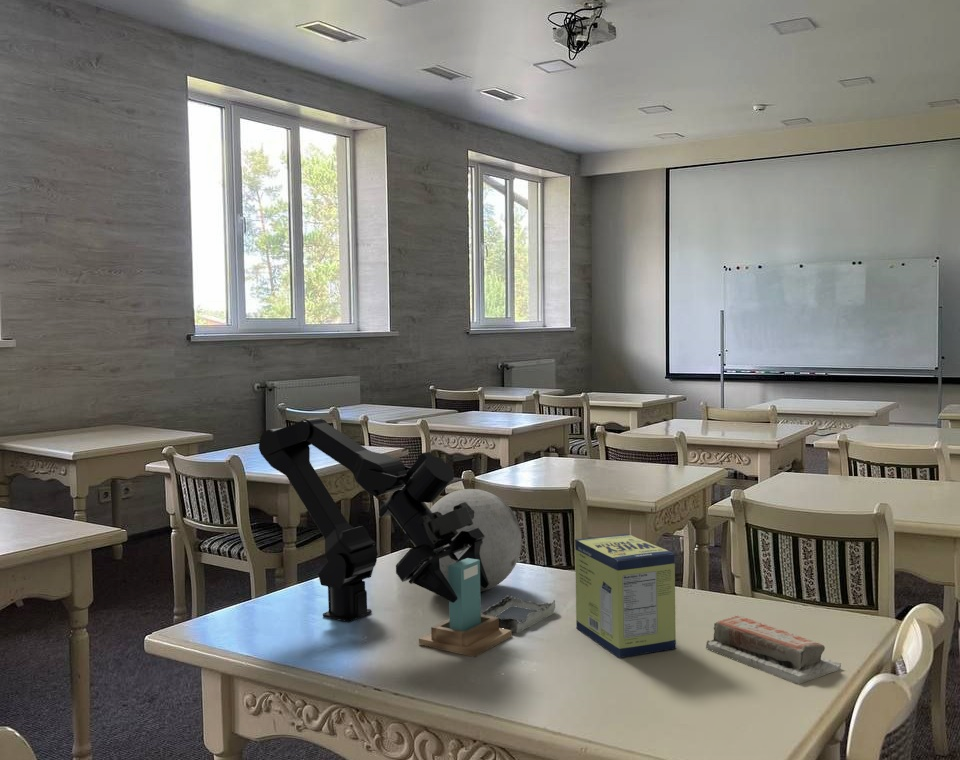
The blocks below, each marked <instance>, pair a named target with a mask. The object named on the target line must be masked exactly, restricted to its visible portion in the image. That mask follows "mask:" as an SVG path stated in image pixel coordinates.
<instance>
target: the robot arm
mask: <svg viewBox="0 0 960 760" xmlns="http://www.w3.org/2000/svg"><path fill="white" fill-rule="evenodd" d="M259 439H260V440H259V443H258V449H259V452H260V455H261V456H262V457H263V458H264V460H265V461H266V462H267V463H268V465H269V466H271V468H273V469H275V470H276V471H278V472H280V473H281V474H282V475H284V476H285V477H286V478H287V479H288V481H289V483H290V484H291V486H292V488H293V489H294V491H295V492H296V495H298V497H299V499H300V500H301V503H302V504H303V506H304V507H305V509H306V511H307V512H308V513H309V515H310V516H311V519H312V520H313V522H314V523H315V525H316V527H317V529H318V530H319V532H320V533H321V534H322V536H323V539H324V556H325V558H326V560H327V562H326V564H325V565H324V567H322V569H321V570H320V571H318V579H319V583H320V586H322V587H327V595H328V596H327V597H328V598H327V599H328V603H327V604H328V611H325V612H323V613H322V617H323V618H329V619H334V620H338V621H341V622H342V621H343V622H347V623H349V622H352V621H354V620H358V619H360V618H362V617H365V616H366V615H368V614H372V611H373V610H372V609H370V608H368V596H367V595H368V594H367V593H368V591H367V590H366V579H370V578H371V577H372V575H373V573H374V568H375V567H376V565H377V559H378V557H377V556H379V553H378V550H377V548H376V546H375V545H376V544H377V543H376V541H375V540H373V539H372V538H371V536H370V535H369V532H368V530H367V528H366V527H365V526H364V525H361V526H357V527H354V526H352V525H351V524H350V523H349V522H348V521H347V519H346V518H345V516H344V515H343V513H342V511H341V509H340V508H339V506H338V505H337V504H336V502H335V500H334V499H333V497H332V495H331V494H330V492H329V491H328V489H327V487H326V486H325V484H324V482H323V481H322V479H321V478H320V476H319V474H318V473H317V472H316V471H317V470H315V468H314V467H313V465H312V463H311V461H310V460H311V459H310V458H311V457H310V456H311V453H310V452H311V448H310V446H311V445H312V446H313V447H314V448H316V449H318V450H319V451H320V452H322V453H324V454H325V455H326V456H328V457H330V458H331V459H332V460H334V461H335V462H337V463H338V464H340V465H341V466H343V467H344V468H345V469H347V470H348V471H350V473H352V474H353V477H354V479H355V480H354V481H356V483H357V484H358V485H359V486H360V487H361V488H362V489H363V490H364V491H365V492H366V493H367V494H369V495H370V496H373V497H378V496H383V495H386V494H389V493H391V495H390V496H389V498H387V499H384V500H381V501H380V502H379V504H380V506H379V509H378V510H379V512H378V517H379V518H384V517H386V516H387V517H388V516H389V515H391V516H392V517H393V519H394V520H395V521H396V522H397V524H398V525H399V526H400V528H401V530H402V531H403V532H404V535H403V536H402V540H403V541H404V542H405V543H408V542H411V543H412V544H413V546H414V547H412V548H411V547H410V548H409V550H408V551H407V552H406V553H405V554H404V556H403V557H402V558H401V559H400V560H399V561H398V562H397V563H396V565H395V574H396V575H397V577H398V578H399V580H400V581H401V583H405V582H406V581H408V583H409V584H410V585H411V584H412V585H413V584H414V585H417V586H418V587H421V588H424V589H426V590H427V591H429V592H431V593H432V594H433V593H434V594H436V595H437V596H439V597H441V598H443V599H444V600H447V601H448V602H449V601H450V602H452V603H454V602H455V601H456V600H457V599H458V598H457V596H456V594H455V592H454V590H453V589H452V587H451V586H450V584H449V582H448V581H447V579H446V578H445V576H444V575H443V573H442V572H441V570H440V563H439V559H440V558H443V557H445V556H448V555H449V556H450V558H451V559H453V560H455V561H457V560H458V561H461V560H464V559H466V558H471V559H477V560H480V585H481V586H482V587H483V588H486V587H487V586H488V585H489V582H488V579H487V576H486V573H485V570H484V568H483V565H482V561H481V558H480V547H481V545H482V544H483V539H484V538H485V536H484V534H483V533H482V532H481V531H480V529H479V528H475V527H471V528H468V529H465V530H463V531H461V532H460V533H459V534H458V532H457V531H456V530H458V529H461V528H463V527H465V526H467V525H468V526H470V525H473V521H472V519H473V518H474V510H472V509H471V507H470V506H469V505H468V504H467V503H466V502H464V503H460V504H459V505H456V506H454V508H453V511H451V512H449V513H446V514H444V515H442V514H441V513H440V512H438V511H437V512H434V513H432V511H431V510H430V509H431V508H429V506H428V505H427V503H428V504H429V503H430V504H431V503H433V502H434V501H435V500H437V498H439V496H440V495H441V494H442V493H443V492H444V490H446V488H447V487H448V486H449V485H450V484H451V482H453V480H454V478H455V472H454V470H453V468H452V467H451V465H450V464H449V463H448V462H445V461H444V460H443V459H441V458H440V457H438V456H434V455H433V454H432V453H431V452H430V451H425V452H421V453H420V454H419V455H418V457H417V459H416V461H415V462H414V463H413V465H412V466H409V465H408V466H407V465H405V464H404V463H403V461H401V460H400V459H398V458H395V457H393V456H391V455H389V454H384V453H381V452H375V451H372V450H369V449H367V448H365V446H363V445H362V444H360V443H358V442H356V441H354V440H353V439H351V438H350V437H349V436H347V435H346V434H345V433H344V432H343V433H342V432H341V431H340V430H338V429H337V428H335V427H334V426H332V425H330V424H329V423H328V422H327V420H325V419H324V418H321V417H311V418H305V419H302V420H299V421H298V422H296V423H294V424H291V425H288V426H284V427H280V428H272V429H267V430H265V431H264V432H263V433H261V436H260V438H259ZM457 534H458V535H457ZM456 535H457V536H456ZM455 536H456V538H455V539H454V540H453V541H452V540H451V539H452V538H453V537H455ZM444 550H445V551H444ZM458 561H457V562H458ZM364 580H365V581H364Z"/></svg>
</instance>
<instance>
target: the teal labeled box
mask: <svg viewBox="0 0 960 760" xmlns="http://www.w3.org/2000/svg"><path fill="white" fill-rule="evenodd" d="M448 574H449V584H450V586H451V587H452V589H453V590H454V592H455V594H456V596H457V598H458V599H457V600H456V601H455V602H454V603H452V602H450V601H449V600H448V608H449V609H448V611H449V613H448V614H449V615H448V617H449V618H448V619H449V620H450V629H454V630H459V631H464V632H465V631H467V630H469V629H471V628H473V627H475V626H477V625H479V624H481V612H482V611H481V609H482V607H481V606H482V603H481V600H482V599H481V591H480V560H477V559H471V558H466V559H464V560H461V561H458V562H456V563H453V564H451V565H448Z"/></svg>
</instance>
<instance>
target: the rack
mask: <svg viewBox="0 0 960 760" xmlns="http://www.w3.org/2000/svg"><path fill="white" fill-rule="evenodd" d="M499 618H500V617H497V616H496V617H492V616H486V615H481V624H479V625H477V626H475V627H473V628H471V629H469V630H467V631H465V632H464V631H459V630H454V629H450V620H449V618H447V619H446V620H443V621H442V622H439V623H437V624H435V625H433V626H431V627H430V632H429V633H427V634H425V635H424V636H423V635H422V636H421V637H419V638H418V645H419V644H421V645H420V646H423V645H425V646H424V647H428V646H429V648H432V647H434V648H433V649H438V650H442V651H447V652H451V653H455V654H460V655H465V656H469V657H472V658H473V657H474V658H476V657H478V656H479V655H481V654H483V653H485V652H486V651H488V650H490V649H491V648H493V646H494V647H495V646H497V645H499V644H501V643H502V642H504V641H506V640H508V639H509V638H511V637H512V632H513V631H511V630H507V629H502V628H499ZM500 642H501V643H500ZM484 651H485V652H484Z"/></svg>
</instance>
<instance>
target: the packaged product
mask: <svg viewBox="0 0 960 760" xmlns="http://www.w3.org/2000/svg"><path fill="white" fill-rule="evenodd" d="M713 631H714V633H713V639H712V640H706V643H705V649H706V648H708V649H710V650H709V651H711V650H713V651H712V652H714V651H715V653H716V652H718V653H717V654H719V653H721V654H720V655H722V654H723V655H722V656H724V655H725V656H724V657H726V656H727V657H726V658H729V657H730V658H729V659H731V658H733V659H732V660H734V659H735V660H734V661H736V660H738V661H737V662H739V661H740V662H739V663H741V662H742V664H744V665H746V664H747V666H750V667H751V666H752V668H754V669H757V670H759V669H760V671H761V672H764V671H765V673H768V674H770V675H772V674H773V676H776V677H778V678H780V677H781V679H783V678H784V679H783V680H787V681H789V682H791V681H792V683H795V684H797V683H798V684H797V685H800V684H803V683H805V682H809V681H811V680H815V679H817V678H820V677H822V676H825V675H828V674H831V673H833V672H834V673H835V672H837V671H839V670H841V669H842V668H841V667H842V663H840V662H838V661H832V660H831V659H830V658H825V657H822V655H823V653H824V651H825V649H826V647H825V645H823V644H821V643H819V642H816V641H814V640H811V639H808V638H806V637H802V636H799V635H797V634H794V633H790V632H788V631H785V630H782V629H779V628H778V627H774V626H771V625H768V624H765V623H762V622H760V621H756V620H754V619H751V618H748V617H745V616H739V615H734V616H731V617H729V618H724V619H722V620H718V621H716V622H715V623H714V627H713ZM708 649H707V650H708Z"/></svg>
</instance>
